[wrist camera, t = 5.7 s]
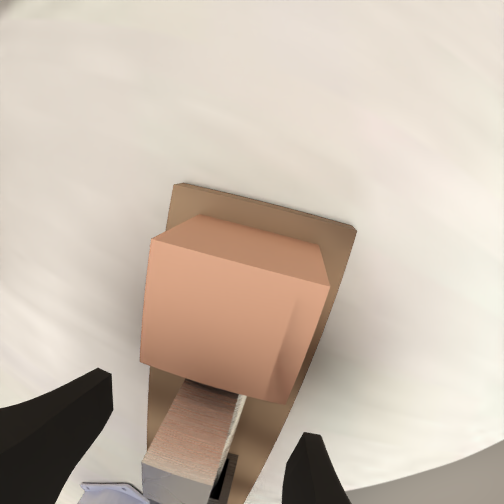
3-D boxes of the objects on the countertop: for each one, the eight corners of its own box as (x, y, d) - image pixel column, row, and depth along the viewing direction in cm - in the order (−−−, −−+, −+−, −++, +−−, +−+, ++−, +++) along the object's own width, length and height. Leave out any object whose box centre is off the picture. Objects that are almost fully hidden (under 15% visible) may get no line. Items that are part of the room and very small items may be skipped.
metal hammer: (218, 477, 17) (191, 568, 10) (178, 465, 17) (141, 552, 10) (278, 288, 13) (254, 424, 6) (212, 270, 13) (124, 382, 6)
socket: (289, 336, 14) (285, 405, 10) (182, 306, 15) (139, 361, 10) (318, 245, 13) (330, 286, 8) (199, 214, 13) (151, 239, 9)
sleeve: (215, 511, 20) (204, 550, 16) (166, 497, 20) (151, 534, 16) (238, 455, 17) (225, 508, 13) (172, 435, 17) (149, 485, 13)
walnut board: (237, 507, 21) (235, 517, 20) (151, 482, 22) (147, 491, 20) (352, 225, 14) (357, 230, 13) (183, 183, 14) (173, 184, 13)
